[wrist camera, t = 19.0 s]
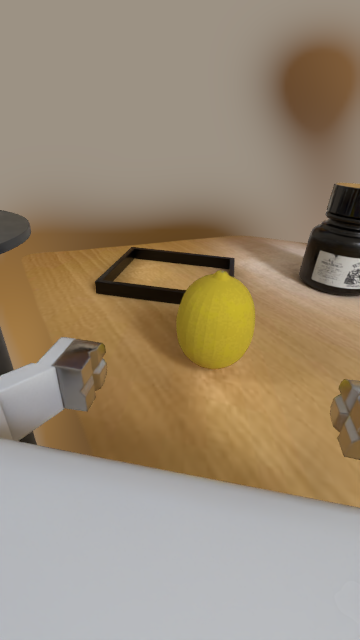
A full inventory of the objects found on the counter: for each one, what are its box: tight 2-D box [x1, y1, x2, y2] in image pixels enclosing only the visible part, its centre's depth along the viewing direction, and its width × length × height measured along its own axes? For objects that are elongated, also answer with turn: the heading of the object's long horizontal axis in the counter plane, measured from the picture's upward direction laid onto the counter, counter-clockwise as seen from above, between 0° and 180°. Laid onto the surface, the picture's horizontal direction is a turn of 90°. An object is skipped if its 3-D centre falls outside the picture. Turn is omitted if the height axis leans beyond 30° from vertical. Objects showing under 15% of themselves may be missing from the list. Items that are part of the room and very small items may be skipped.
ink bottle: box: [299, 183, 360, 296], centre depth 36 cm, size 10×9×12 cm
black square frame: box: [95, 247, 234, 304], centre depth 37 cm, size 15×13×2 cm
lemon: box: [176, 270, 255, 369], centre depth 21 cm, size 6×6×8 cm
